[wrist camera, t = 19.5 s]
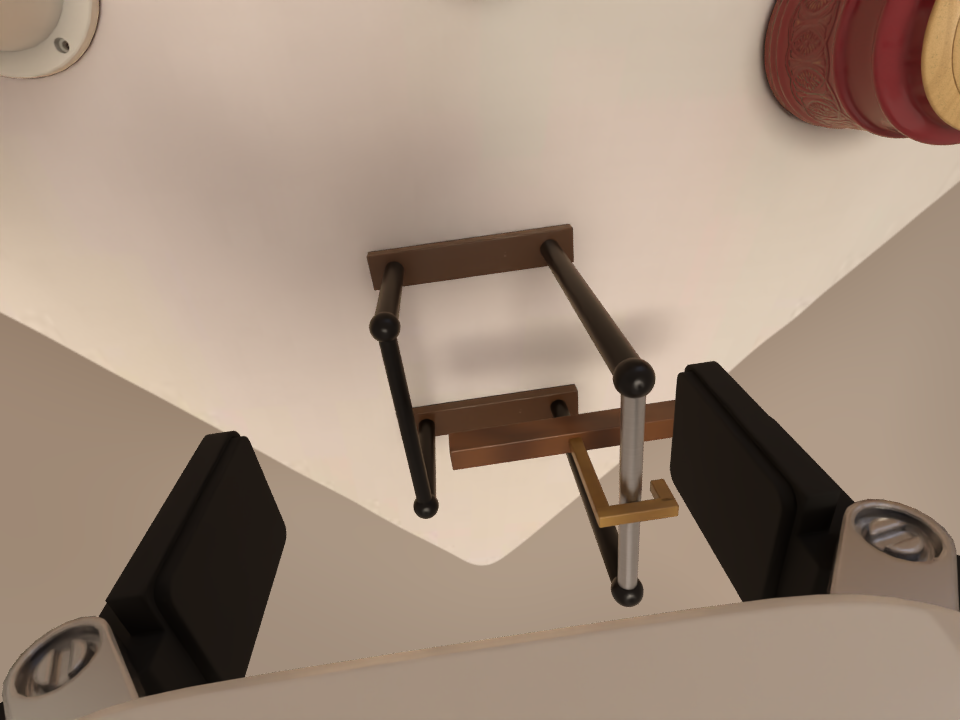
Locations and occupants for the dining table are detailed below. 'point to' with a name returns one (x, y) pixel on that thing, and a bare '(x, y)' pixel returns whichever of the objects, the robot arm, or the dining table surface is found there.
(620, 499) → the rack
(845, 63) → the kitchen canister
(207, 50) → the dining table surface
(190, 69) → the dining table surface
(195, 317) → the dining table surface
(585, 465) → the hanger
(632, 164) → the dining table surface
